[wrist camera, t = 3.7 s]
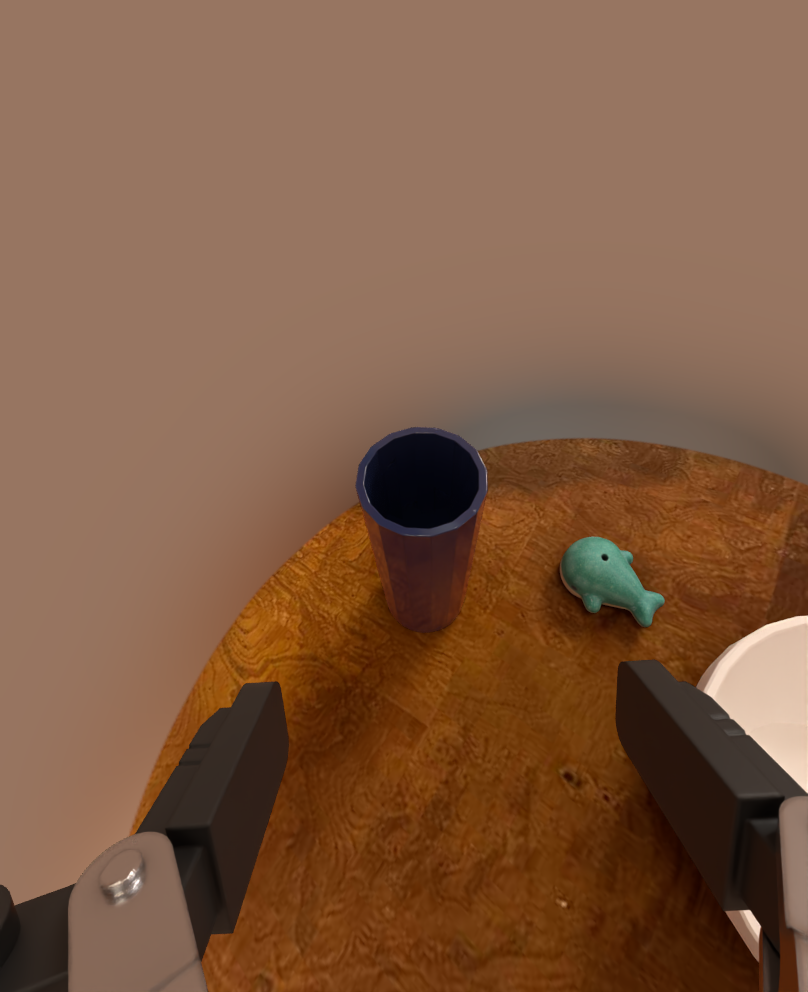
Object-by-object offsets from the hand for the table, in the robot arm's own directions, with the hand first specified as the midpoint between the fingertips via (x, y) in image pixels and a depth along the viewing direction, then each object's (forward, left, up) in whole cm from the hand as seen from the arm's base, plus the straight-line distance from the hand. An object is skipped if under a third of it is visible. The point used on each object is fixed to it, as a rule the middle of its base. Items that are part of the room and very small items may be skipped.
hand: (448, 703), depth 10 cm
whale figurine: (+16, +6, -22) cm, 27 cm away
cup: (+3, +10, -21) cm, 24 cm away
